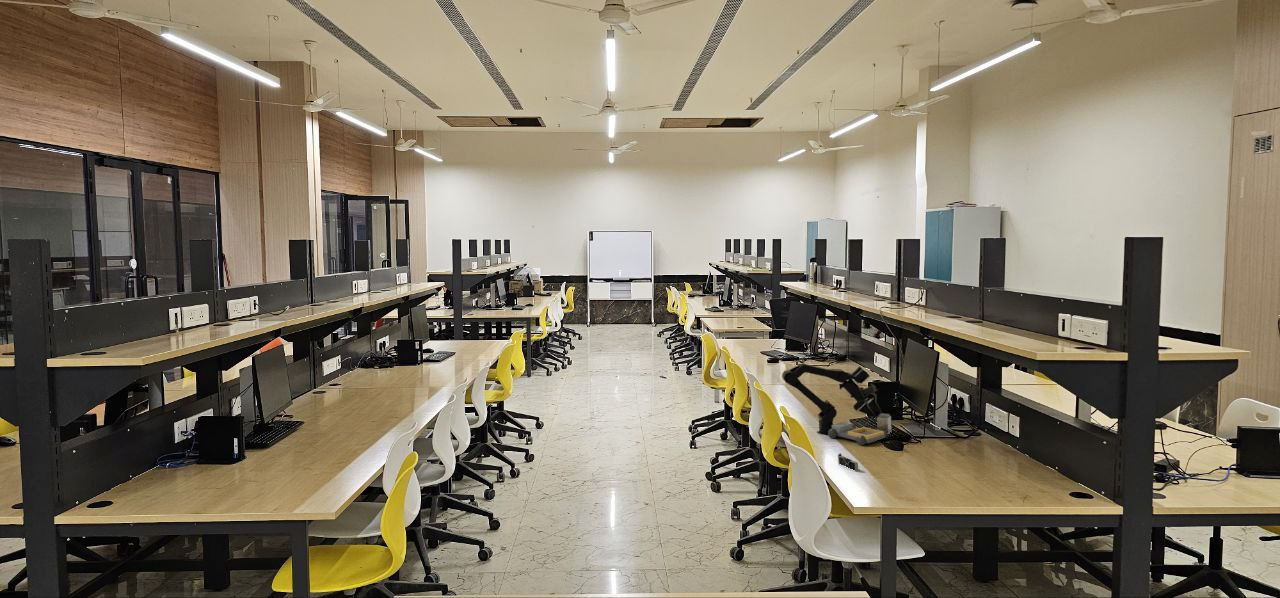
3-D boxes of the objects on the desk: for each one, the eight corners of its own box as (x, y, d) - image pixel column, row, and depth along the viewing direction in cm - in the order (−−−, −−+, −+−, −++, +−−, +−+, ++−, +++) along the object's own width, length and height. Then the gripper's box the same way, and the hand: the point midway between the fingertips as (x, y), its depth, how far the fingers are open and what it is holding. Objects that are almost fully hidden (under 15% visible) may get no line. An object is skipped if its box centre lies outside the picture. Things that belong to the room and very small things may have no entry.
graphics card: (838, 465, 296) (835, 454, 296) (843, 462, 297) (840, 452, 296) (855, 472, 285) (852, 461, 285) (860, 470, 286) (857, 459, 285)
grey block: (877, 435, 335) (876, 415, 334) (881, 433, 339) (880, 413, 338) (888, 437, 332) (887, 416, 331) (891, 434, 336) (890, 413, 335)
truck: (826, 437, 338) (826, 426, 337) (848, 431, 346) (847, 420, 345) (865, 446, 318) (864, 434, 318) (887, 440, 326) (886, 428, 326)
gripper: (859, 383, 331) (883, 407, 325) (871, 375, 346) (895, 399, 340) (843, 398, 336) (867, 423, 330) (856, 390, 351) (879, 414, 345)
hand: (878, 414), depth 336 cm, fingers open, 9 cm apart
